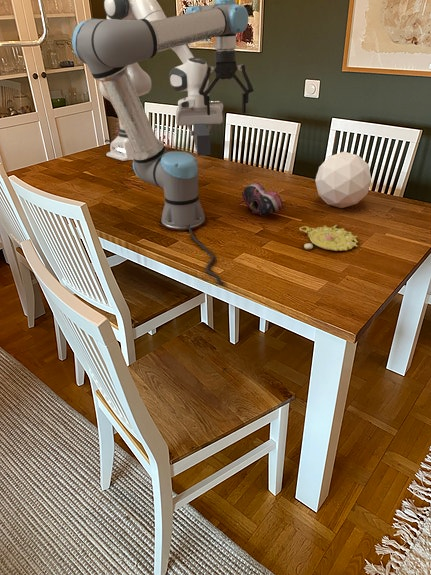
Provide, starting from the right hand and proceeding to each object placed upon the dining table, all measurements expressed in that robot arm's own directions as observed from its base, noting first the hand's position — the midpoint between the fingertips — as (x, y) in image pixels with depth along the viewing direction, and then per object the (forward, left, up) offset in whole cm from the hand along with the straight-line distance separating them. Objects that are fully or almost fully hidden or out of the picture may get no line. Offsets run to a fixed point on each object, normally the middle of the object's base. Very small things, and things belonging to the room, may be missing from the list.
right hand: (226, 113), depth 167 cm
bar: (+15, +8, -16) cm, 23 cm away
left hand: (+24, +8, -13) cm, 28 cm away
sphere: (-27, -38, -30) cm, 55 cm away
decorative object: (-53, -24, -30) cm, 65 cm away
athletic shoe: (-26, -7, -30) cm, 40 cm away
